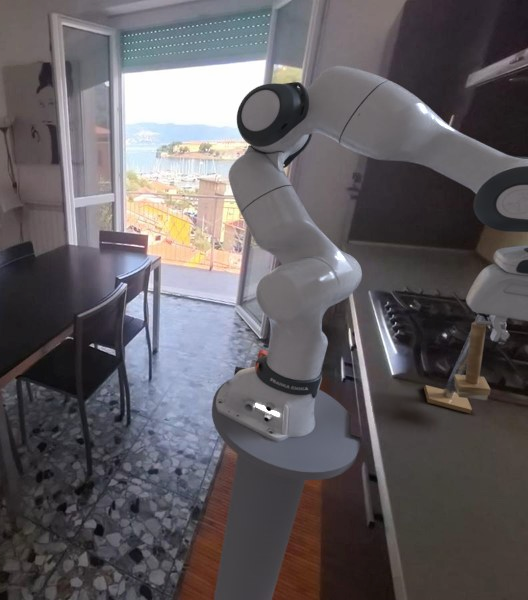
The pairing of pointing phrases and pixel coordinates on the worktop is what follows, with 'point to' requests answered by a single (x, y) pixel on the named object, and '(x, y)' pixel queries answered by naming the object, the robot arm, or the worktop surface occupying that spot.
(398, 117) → the robot arm
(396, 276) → the worktop surface
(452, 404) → the wood and metal stand
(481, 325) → the wooden post on base
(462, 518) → the worktop surface
